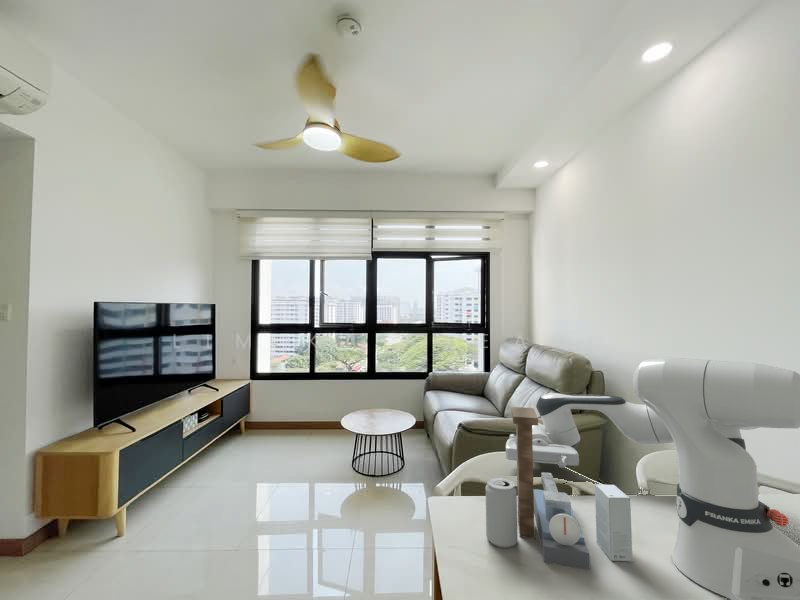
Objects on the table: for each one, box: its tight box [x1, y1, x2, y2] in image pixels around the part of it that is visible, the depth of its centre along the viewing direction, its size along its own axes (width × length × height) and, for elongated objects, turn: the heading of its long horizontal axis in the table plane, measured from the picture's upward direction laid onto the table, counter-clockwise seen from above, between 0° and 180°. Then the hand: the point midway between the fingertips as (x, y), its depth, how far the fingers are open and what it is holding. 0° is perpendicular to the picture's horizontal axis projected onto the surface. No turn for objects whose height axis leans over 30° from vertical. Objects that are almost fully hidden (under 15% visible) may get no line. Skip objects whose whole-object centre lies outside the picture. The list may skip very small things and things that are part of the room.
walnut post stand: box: [510, 406, 539, 539], centre depth 79 cm, size 5×9×26 cm, turn 165°
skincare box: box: [594, 483, 633, 562], centre depth 72 cm, size 6×4×12 cm
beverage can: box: [485, 476, 518, 549], centre depth 76 cm, size 6×6×12 cm
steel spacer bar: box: [540, 471, 572, 519], centre depth 85 cm, size 5×18×4 cm, turn 165°
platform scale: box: [533, 488, 591, 571], centre depth 79 cm, size 8×22×9 cm, turn 165°
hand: (543, 463), depth 99 cm, fingers open, 8 cm apart
